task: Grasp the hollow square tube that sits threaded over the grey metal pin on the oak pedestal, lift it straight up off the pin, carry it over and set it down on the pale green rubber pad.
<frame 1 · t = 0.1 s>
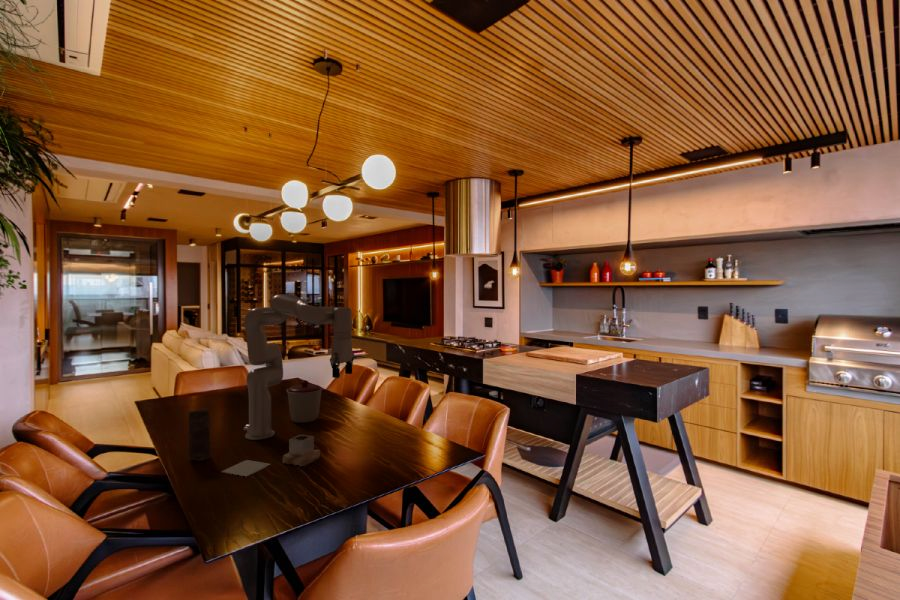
hand: (342, 375, 186), 31 cm above the table, tool pointing down, fingers open, 9 cm apart
peg stand: (301, 460, 171), on the table
rubber pad: (246, 468, 163), on the table
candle: (199, 459, 172), on the table
hollow square tube: (301, 452, 171), point 3 cm above the table, touching peg stand
canister: (304, 420, 227), on the table
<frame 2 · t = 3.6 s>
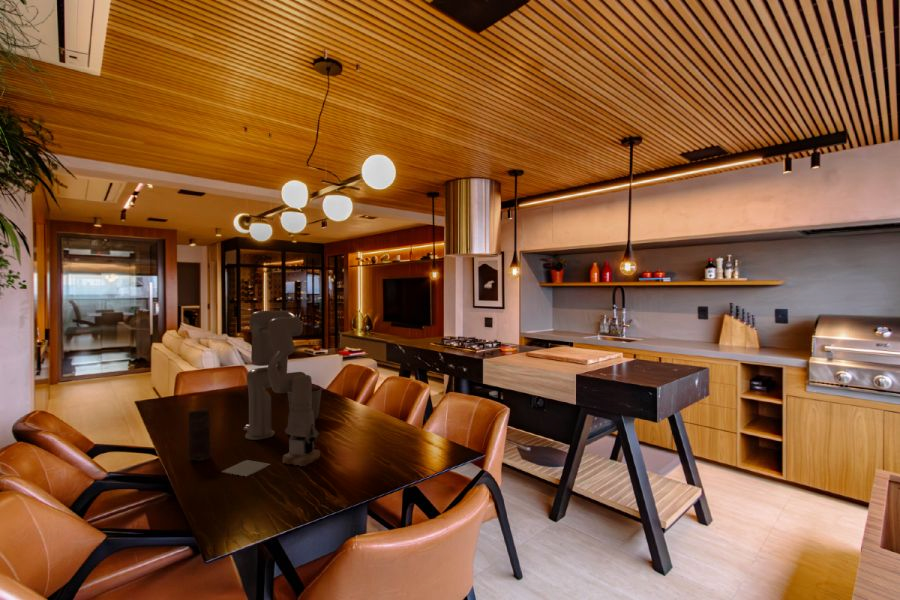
hand: (301, 451, 171), 4 cm above the table, tool pointing down, fingers closed on hollow square tube, 6 cm apart
hollow square tube: (301, 452, 171), point 3 cm above the table, touching gripper, peg stand
everything else where it was.
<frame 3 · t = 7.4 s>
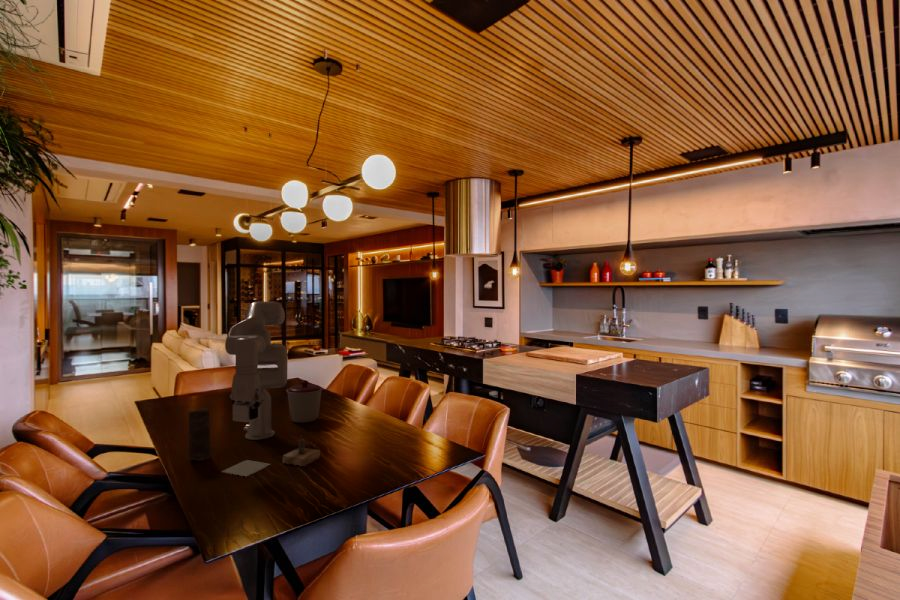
hand: (246, 417, 163), 20 cm above the table, tool pointing down, fingers closed on hollow square tube, 6 cm apart
hollow square tube: (246, 419, 163), point 19 cm above the table, touching gripper
everything else where it was.
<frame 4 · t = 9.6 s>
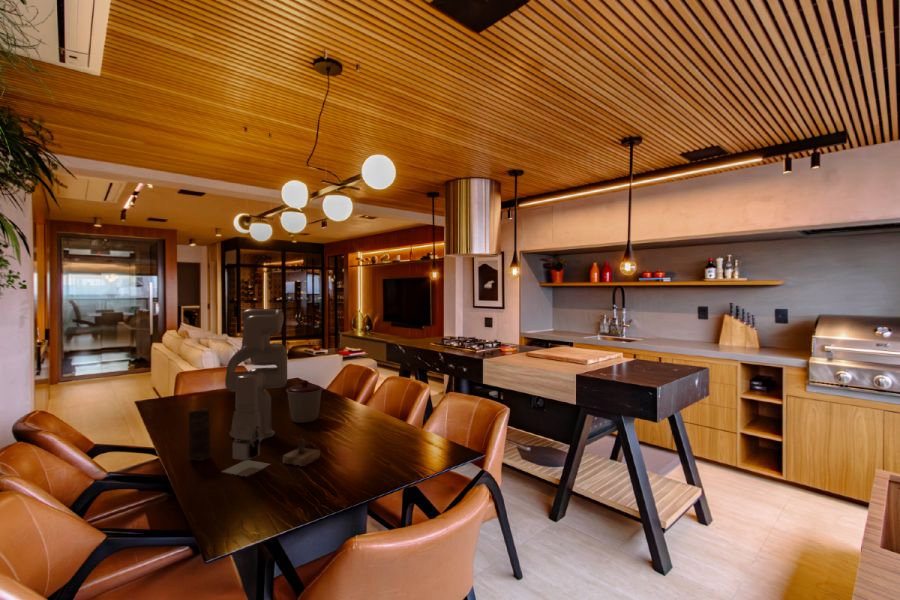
hand: (246, 454, 163), 5 cm above the table, tool pointing down, fingers closed on hollow square tube, 6 cm apart
hollow square tube: (246, 456, 163), point 5 cm above the table, touching gripper
everything else where it was.
when the fingers open (2 cm above the table, at t = 11.3 s): hollow square tube drops 1 cm, resting on rubber pad.
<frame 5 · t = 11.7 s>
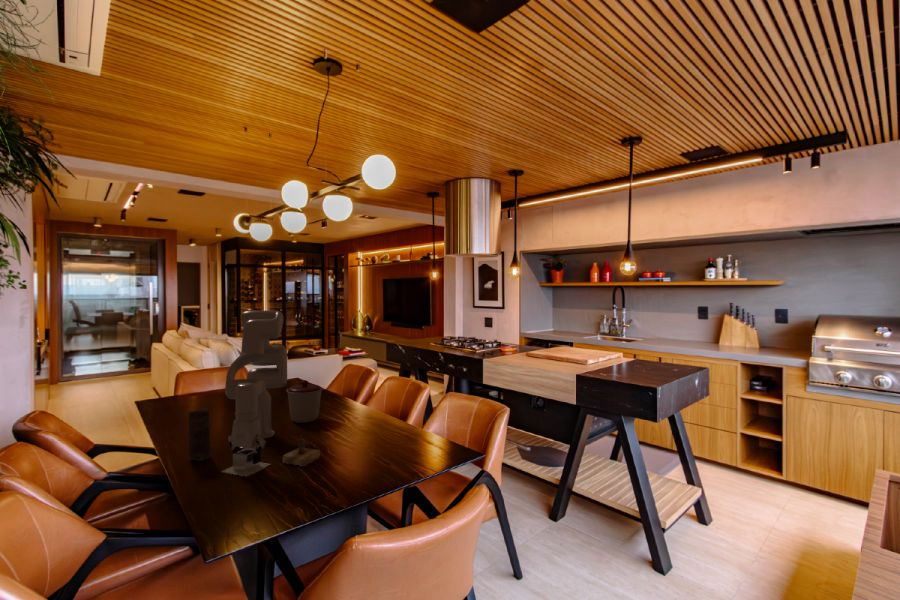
hand: (246, 461, 163), 3 cm above the table, tool pointing down, fingers open, 9 cm apart
hollow square tube: (246, 467, 163), resting on rubber pad
everything else where it was.
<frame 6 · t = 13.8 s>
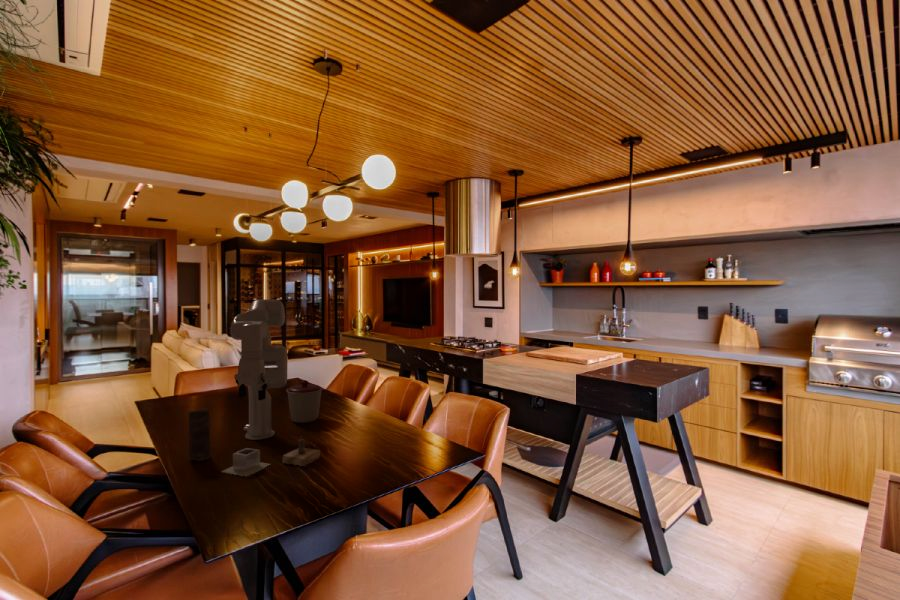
hand: (252, 398, 169), 25 cm above the table, tool pointing down, fingers open, 9 cm apart
nothing on the table moved.
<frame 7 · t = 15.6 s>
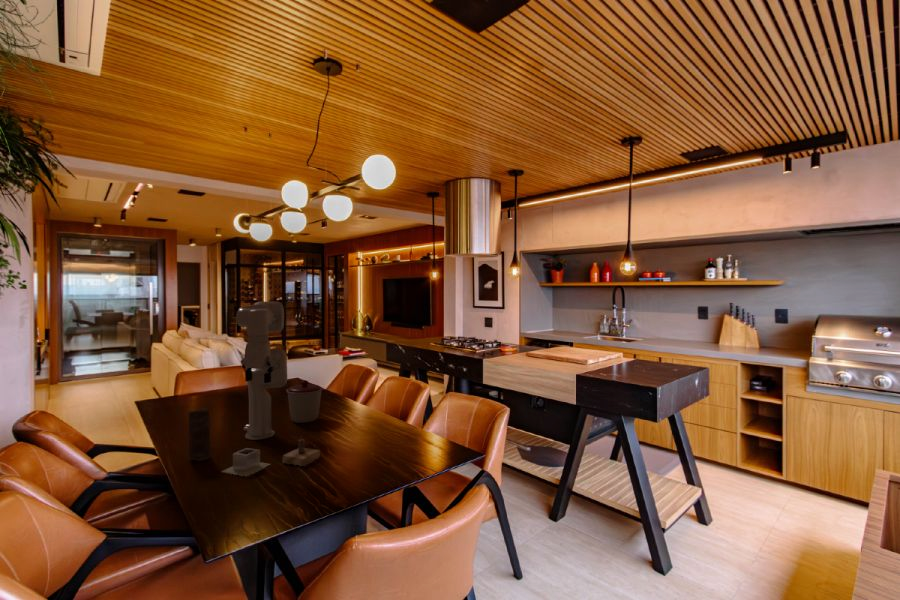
hand: (258, 381, 176), 30 cm above the table, tool pointing down, fingers open, 9 cm apart
nothing on the table moved.
at the end: hollow square tube inside the target area on the rubber pad (0.1 cm from its centre), point 0.4 cm above the rubber pad's base; hollow square tube touching rubber pad; the gripper is holding nothing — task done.
